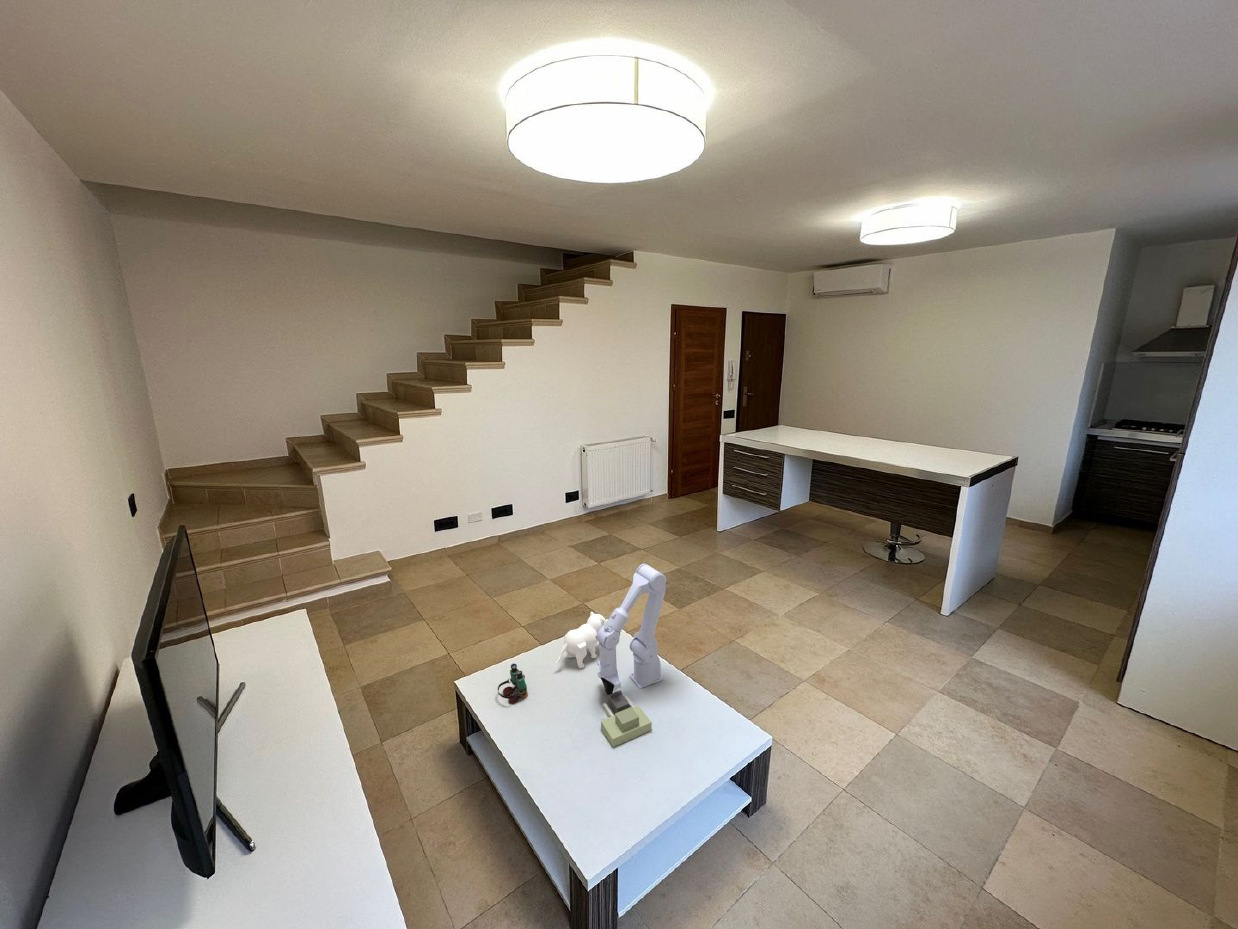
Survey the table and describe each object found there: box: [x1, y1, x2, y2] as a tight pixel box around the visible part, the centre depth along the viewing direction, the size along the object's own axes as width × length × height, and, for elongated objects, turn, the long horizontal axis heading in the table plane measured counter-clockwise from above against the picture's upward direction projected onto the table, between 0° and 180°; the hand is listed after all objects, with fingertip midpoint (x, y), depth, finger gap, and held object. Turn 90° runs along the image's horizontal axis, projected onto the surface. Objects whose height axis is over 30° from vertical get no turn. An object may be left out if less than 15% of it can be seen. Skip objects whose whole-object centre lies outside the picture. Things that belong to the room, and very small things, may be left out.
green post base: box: [600, 694, 653, 748], centre depth 160 cm, size 14×16×6 cm
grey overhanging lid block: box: [608, 689, 630, 715], centre depth 165 cm, size 4×6×5 cm
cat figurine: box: [555, 611, 608, 669], centre depth 190 cm, size 25×10×17 cm, turn 129°
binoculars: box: [497, 663, 529, 704], centre depth 172 cm, size 9×11×10 cm
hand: (609, 693), depth 172 cm, fingers closed
